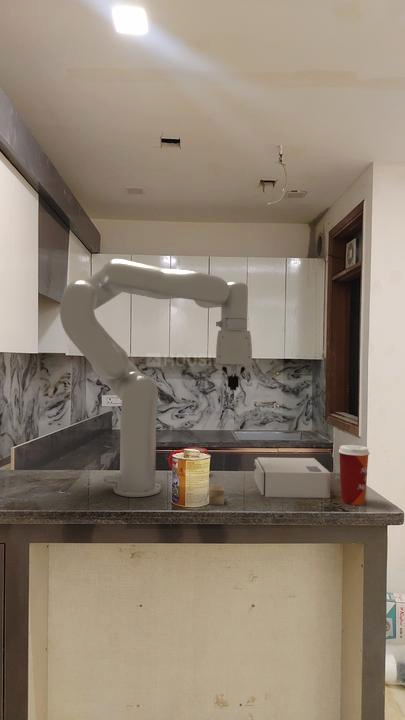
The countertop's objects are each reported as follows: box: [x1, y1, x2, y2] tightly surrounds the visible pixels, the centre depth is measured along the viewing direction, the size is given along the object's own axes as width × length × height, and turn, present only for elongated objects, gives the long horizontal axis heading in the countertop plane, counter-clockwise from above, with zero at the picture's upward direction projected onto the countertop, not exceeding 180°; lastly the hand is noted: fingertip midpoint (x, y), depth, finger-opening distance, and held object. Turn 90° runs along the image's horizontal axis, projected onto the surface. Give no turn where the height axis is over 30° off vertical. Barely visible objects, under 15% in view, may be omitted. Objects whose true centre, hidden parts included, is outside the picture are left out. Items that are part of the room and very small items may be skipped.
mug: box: [168, 446, 208, 470], centre depth 145 cm, size 8×12×8 cm, turn 85°
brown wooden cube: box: [208, 485, 225, 506], centre depth 118 cm, size 4×4×4 cm
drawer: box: [253, 458, 265, 496], centre depth 132 cm, size 17×16×6 cm
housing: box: [256, 456, 331, 499], centre depth 132 cm, size 17×18×7 cm
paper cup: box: [337, 444, 371, 506], centre depth 120 cm, size 8×8×14 cm
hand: (233, 389), depth 135 cm, fingers closed
